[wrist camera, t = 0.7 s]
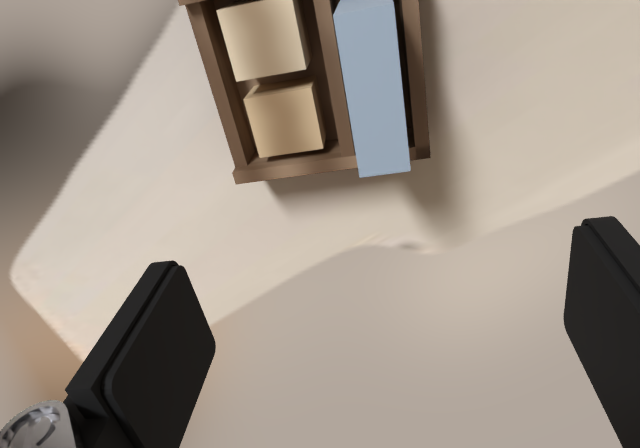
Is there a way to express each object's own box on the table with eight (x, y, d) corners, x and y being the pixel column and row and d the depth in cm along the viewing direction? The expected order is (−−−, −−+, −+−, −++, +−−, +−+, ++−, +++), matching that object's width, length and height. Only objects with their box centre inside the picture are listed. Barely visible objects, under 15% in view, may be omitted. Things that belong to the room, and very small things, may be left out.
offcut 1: (299, -12, 32) (291, -5, 29) (312, 56, 35) (306, 69, 31) (231, 3, 33) (216, 10, 30) (248, 68, 36) (236, 81, 32)
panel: (387, -17, 32) (393, 3, 22) (400, 110, 36) (410, 171, 27) (343, -8, 32) (333, 15, 23) (362, 116, 37) (359, 177, 28)
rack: (407, -64, 31) (413, -64, 27) (423, 133, 38) (430, 157, 34) (198, -18, 34) (174, -12, 29) (249, 158, 41) (235, 184, 37)
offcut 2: (316, 75, 35) (311, 87, 32) (327, 132, 38) (323, 148, 35) (253, 86, 36) (243, 99, 33) (268, 140, 39) (259, 157, 36)
